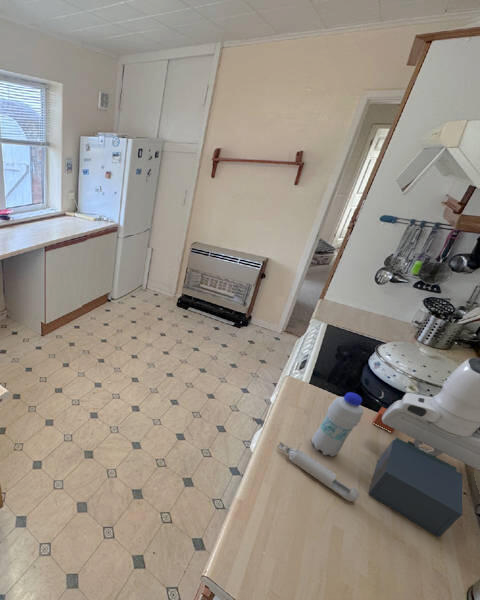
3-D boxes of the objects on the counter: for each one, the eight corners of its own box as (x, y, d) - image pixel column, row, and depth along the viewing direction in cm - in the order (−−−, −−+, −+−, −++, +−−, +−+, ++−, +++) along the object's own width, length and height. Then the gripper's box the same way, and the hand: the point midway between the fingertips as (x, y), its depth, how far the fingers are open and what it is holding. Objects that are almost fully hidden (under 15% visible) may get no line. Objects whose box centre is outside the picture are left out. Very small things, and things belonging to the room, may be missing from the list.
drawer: (386, 445, 92) (398, 428, 89) (441, 474, 85) (456, 456, 82) (375, 483, 80) (389, 466, 77) (438, 521, 73) (456, 503, 70)
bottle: (338, 463, 86) (374, 408, 77) (309, 451, 89) (340, 396, 80) (336, 446, 91) (369, 392, 82) (308, 435, 94) (338, 382, 85)
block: (374, 417, 103) (381, 406, 101) (393, 426, 100) (401, 415, 98) (372, 424, 100) (379, 413, 98) (391, 433, 97) (399, 422, 95)
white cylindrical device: (357, 497, 78) (370, 479, 75) (351, 508, 75) (364, 491, 72) (280, 445, 90) (288, 428, 87) (272, 453, 88) (281, 436, 85)
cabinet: (377, 460, 88) (393, 439, 84) (441, 496, 80) (462, 473, 76) (367, 494, 79) (385, 471, 75) (438, 537, 71) (462, 514, 67)
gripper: (514, 438, 74) (476, 476, 80) (399, 389, 87) (374, 425, 94) (517, 453, 70) (477, 492, 76) (396, 399, 84) (370, 436, 90)
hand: (420, 455), depth 85 cm, fingers closed
